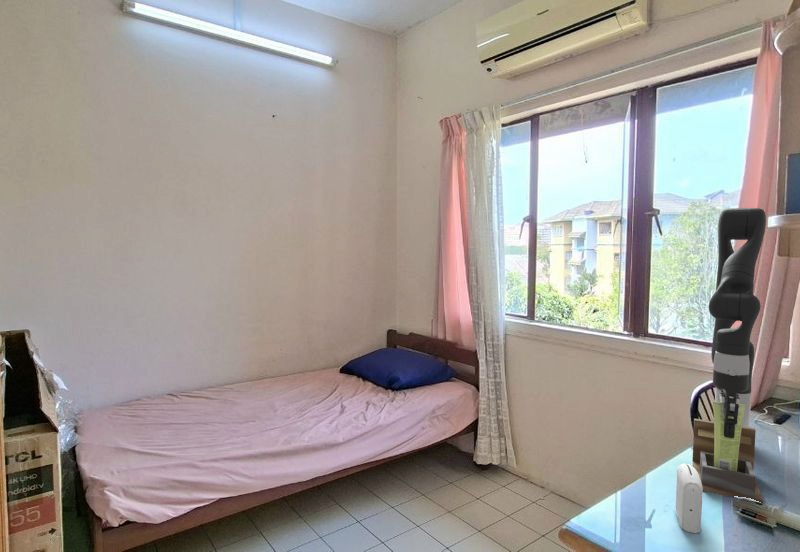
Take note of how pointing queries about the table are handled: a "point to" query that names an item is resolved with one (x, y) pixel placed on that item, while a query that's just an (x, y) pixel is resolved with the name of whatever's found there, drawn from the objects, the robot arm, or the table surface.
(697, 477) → the photo printer
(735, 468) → the tube
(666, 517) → the table surface
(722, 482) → the wall rack
